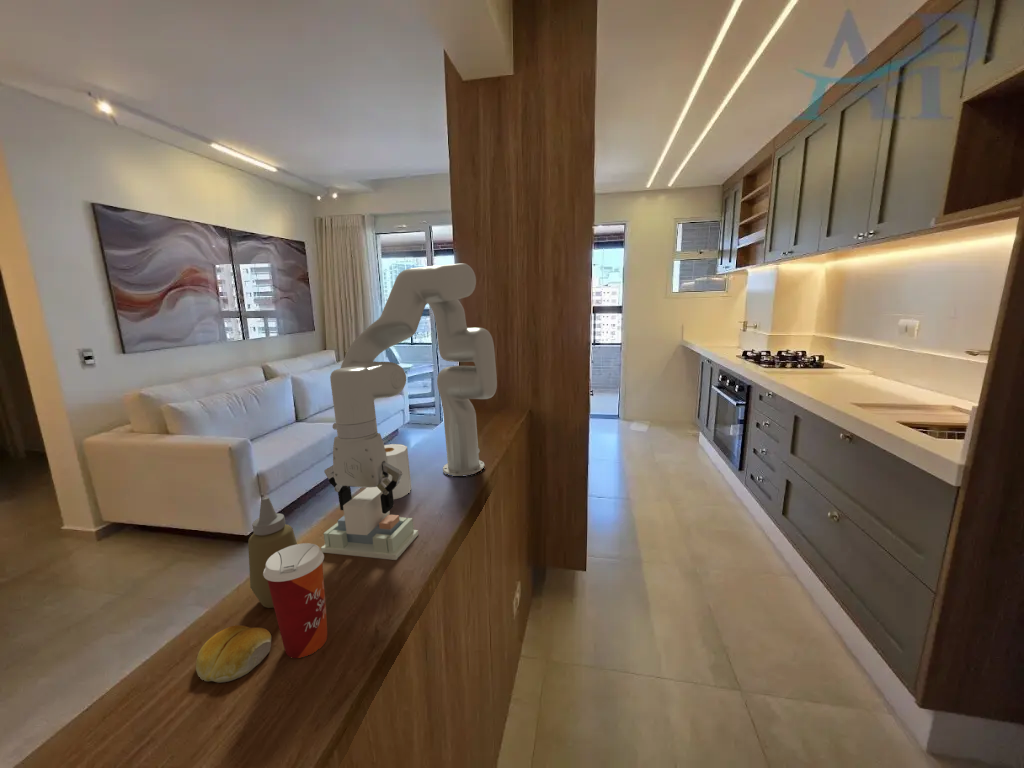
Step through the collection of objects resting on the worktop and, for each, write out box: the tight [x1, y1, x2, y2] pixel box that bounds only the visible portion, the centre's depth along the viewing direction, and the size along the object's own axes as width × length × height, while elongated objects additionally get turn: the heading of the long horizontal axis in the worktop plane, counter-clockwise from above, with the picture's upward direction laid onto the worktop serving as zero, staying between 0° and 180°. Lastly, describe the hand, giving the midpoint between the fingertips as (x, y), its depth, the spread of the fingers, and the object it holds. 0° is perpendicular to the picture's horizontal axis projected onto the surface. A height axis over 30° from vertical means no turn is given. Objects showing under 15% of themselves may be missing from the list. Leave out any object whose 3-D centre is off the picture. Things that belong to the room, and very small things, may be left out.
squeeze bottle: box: [247, 497, 298, 609], centre depth 70 cm, size 8×8×18 cm
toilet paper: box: [376, 443, 412, 500], centre depth 111 cm, size 10×10×12 cm
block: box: [342, 487, 391, 535], centre depth 86 cm, size 9×4×6 cm, turn 167°
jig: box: [320, 516, 419, 561], centre depth 87 cm, size 10×17×4 cm, turn 76°
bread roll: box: [195, 624, 272, 683], centre depth 58 cm, size 8×9×4 cm
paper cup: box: [263, 542, 328, 659], centre depth 60 cm, size 8×8×14 cm
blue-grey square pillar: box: [337, 514, 401, 544], centre depth 87 cm, size 4×12×5 cm, turn 76°
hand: (367, 508), depth 86 cm, fingers open, 9 cm apart
